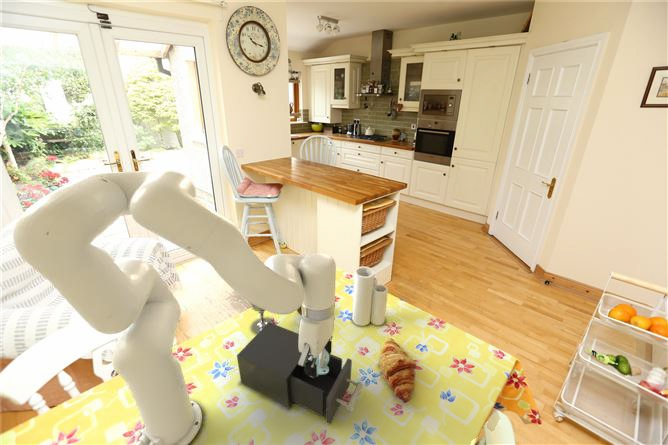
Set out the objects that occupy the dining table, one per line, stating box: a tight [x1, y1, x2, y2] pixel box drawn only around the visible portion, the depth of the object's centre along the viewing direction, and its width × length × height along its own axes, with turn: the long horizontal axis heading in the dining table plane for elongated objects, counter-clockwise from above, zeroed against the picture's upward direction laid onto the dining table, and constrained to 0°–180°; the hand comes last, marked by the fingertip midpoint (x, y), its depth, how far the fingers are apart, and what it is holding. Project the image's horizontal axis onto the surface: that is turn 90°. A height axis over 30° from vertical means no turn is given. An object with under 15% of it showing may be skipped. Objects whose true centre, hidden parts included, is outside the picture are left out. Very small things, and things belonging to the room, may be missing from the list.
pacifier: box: [308, 348, 329, 377], centre depth 72 cm, size 7×6×6 cm
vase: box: [351, 265, 389, 327], centre depth 100 cm, size 11×7×20 cm, turn 95°
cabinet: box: [236, 322, 302, 409], centre depth 80 cm, size 16×14×11 cm
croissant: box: [378, 337, 417, 404], centre depth 83 cm, size 21×10×8 cm, turn 3°
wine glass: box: [247, 301, 274, 335], centre depth 96 cm, size 8×8×15 cm
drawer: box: [288, 353, 364, 425], centre depth 75 cm, size 19×12×9 cm, turn 64°
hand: (318, 362), depth 73 cm, fingers closed on pacifier, 7 cm apart
